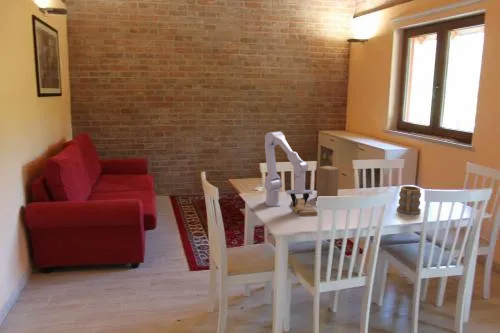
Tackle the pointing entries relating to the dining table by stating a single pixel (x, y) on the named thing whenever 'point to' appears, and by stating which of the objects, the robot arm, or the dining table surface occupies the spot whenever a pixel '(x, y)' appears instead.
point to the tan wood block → (299, 204)
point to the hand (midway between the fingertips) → (299, 206)
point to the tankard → (409, 200)
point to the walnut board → (306, 210)
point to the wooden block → (327, 181)
